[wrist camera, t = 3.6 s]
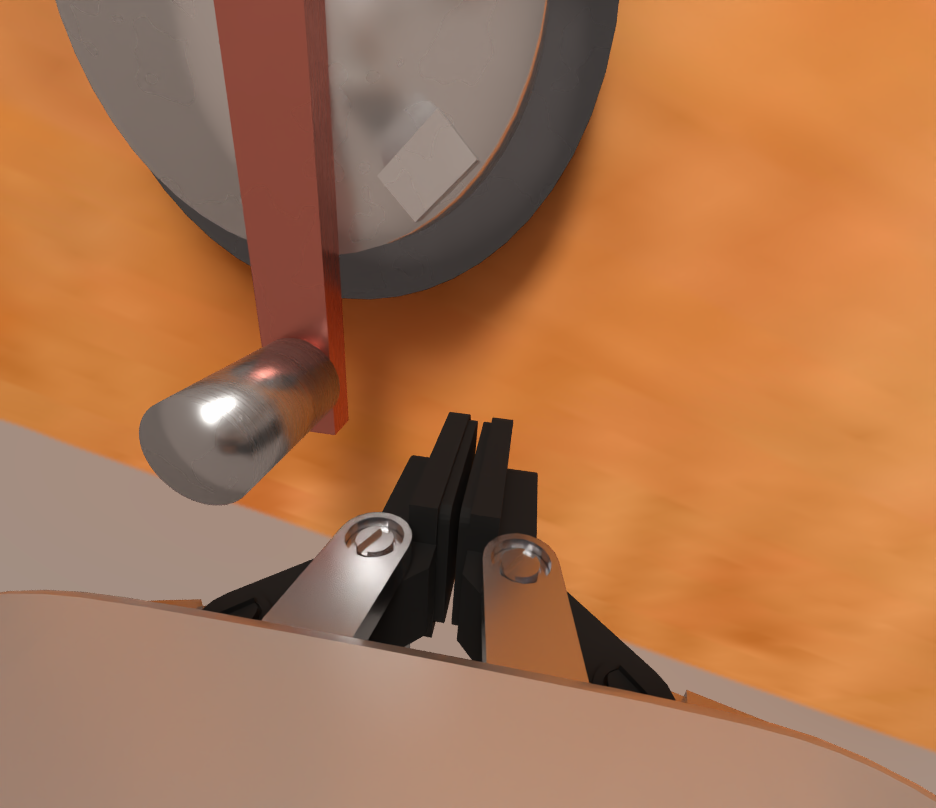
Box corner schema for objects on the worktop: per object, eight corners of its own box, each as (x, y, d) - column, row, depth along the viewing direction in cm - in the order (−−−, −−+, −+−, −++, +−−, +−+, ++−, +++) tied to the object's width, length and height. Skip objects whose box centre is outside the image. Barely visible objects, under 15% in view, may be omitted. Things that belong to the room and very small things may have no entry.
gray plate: (671, -364, 12) (707, -527, 9) (564, 304, 20) (566, 321, 17) (79, -322, 14) (-33, -445, 11) (193, 267, 22) (143, 277, 19)
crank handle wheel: (593, -377, 10) (744, -2329, 2) (503, 411, 19) (472, 565, 11) (51, -337, 12) (-934, -1390, 4) (199, 371, 20) (-16, 480, 13)
